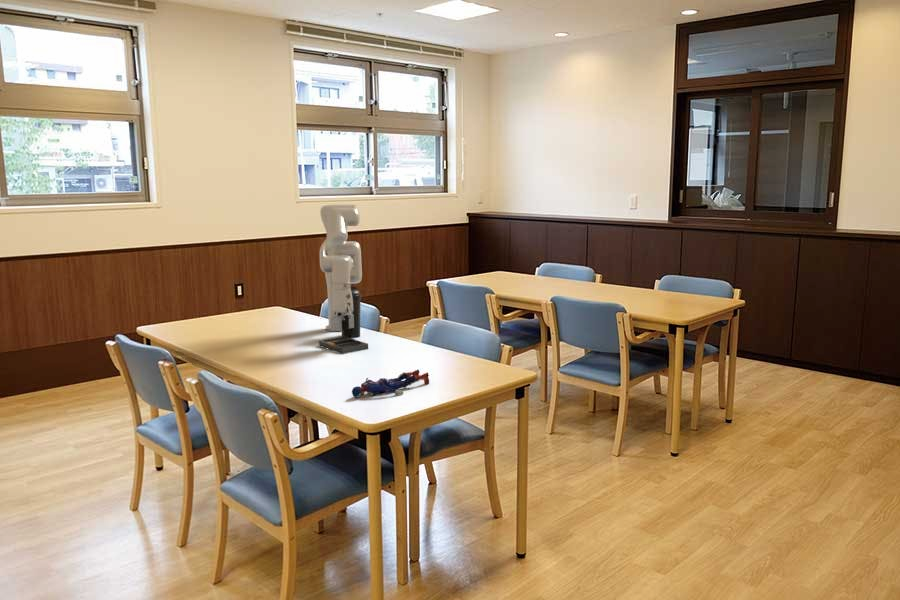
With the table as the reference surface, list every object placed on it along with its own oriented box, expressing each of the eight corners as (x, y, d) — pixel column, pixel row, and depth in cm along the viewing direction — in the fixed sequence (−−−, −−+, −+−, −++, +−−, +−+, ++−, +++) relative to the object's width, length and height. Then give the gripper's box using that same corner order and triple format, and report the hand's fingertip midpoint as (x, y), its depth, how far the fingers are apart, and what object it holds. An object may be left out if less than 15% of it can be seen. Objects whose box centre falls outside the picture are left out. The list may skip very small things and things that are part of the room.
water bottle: (335, 337, 319) (334, 288, 315) (347, 332, 328) (345, 285, 324) (355, 339, 315) (353, 289, 311) (366, 334, 324) (364, 286, 320)
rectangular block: (349, 326, 303) (349, 314, 302) (354, 327, 300) (353, 315, 299) (330, 329, 297) (330, 316, 296) (335, 330, 294) (334, 318, 293)
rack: (344, 341, 311) (343, 334, 311) (368, 348, 297) (368, 342, 297) (318, 345, 303) (318, 339, 302) (342, 353, 289) (342, 347, 288)
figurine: (410, 378, 255) (341, 394, 236) (410, 363, 254) (340, 378, 235) (436, 387, 244) (364, 405, 225) (435, 371, 243) (364, 388, 224)
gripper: (359, 287, 292) (360, 329, 295) (338, 283, 304) (339, 324, 307) (344, 289, 287) (345, 332, 290) (323, 285, 299) (325, 326, 302)
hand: (342, 327), depth 298 cm, fingers closed on rectangular block, 3 cm apart
